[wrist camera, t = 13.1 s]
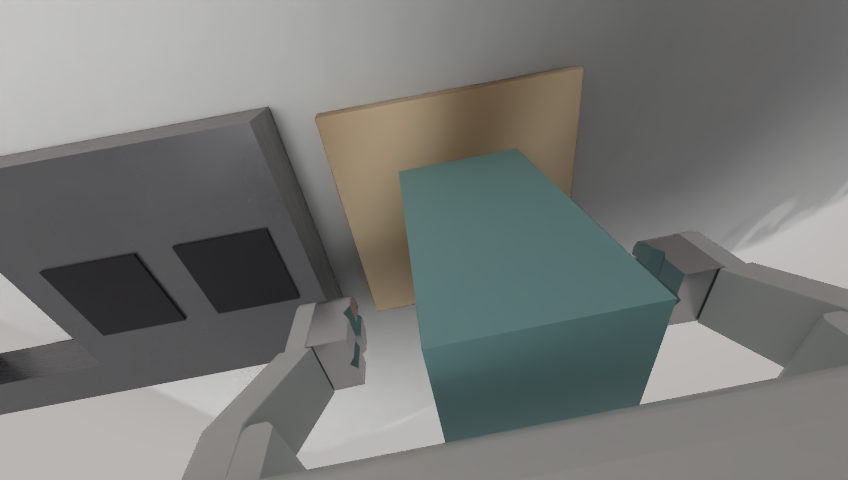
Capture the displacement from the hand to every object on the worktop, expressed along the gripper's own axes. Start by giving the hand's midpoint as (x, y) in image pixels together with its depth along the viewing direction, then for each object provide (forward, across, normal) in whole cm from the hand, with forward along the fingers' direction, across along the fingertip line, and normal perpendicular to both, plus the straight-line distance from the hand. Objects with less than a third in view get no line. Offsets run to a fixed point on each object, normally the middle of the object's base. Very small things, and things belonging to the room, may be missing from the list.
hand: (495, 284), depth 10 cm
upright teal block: (+4, 0, 0) cm, 4 cm away
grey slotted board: (+5, +16, 0) cm, 17 cm away
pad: (+5, 0, 0) cm, 5 cm away
